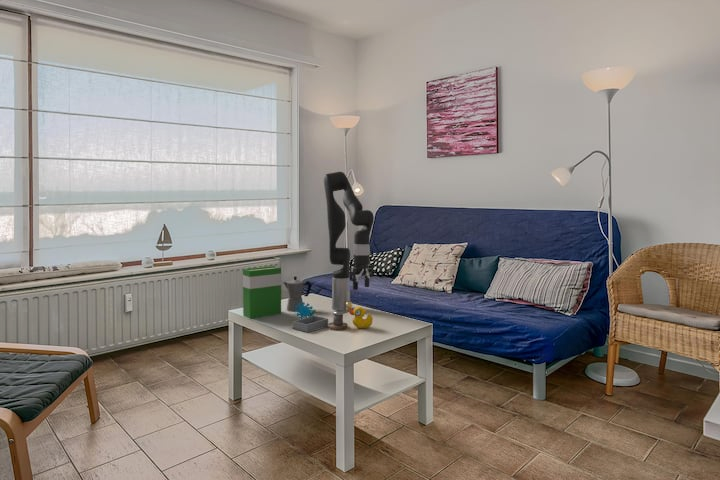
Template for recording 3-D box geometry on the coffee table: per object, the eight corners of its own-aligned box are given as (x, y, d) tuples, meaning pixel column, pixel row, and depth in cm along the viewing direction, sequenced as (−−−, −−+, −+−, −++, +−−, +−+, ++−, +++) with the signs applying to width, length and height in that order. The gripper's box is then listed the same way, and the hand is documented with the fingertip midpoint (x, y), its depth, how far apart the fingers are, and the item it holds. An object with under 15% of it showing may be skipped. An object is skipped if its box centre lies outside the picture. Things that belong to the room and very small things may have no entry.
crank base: (337, 323, 231) (337, 311, 230) (351, 327, 225) (351, 314, 225) (324, 327, 224) (324, 315, 223) (339, 331, 218) (339, 318, 218)
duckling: (347, 329, 222) (347, 307, 221) (349, 325, 228) (349, 305, 227) (371, 330, 221) (372, 308, 220) (373, 326, 226) (373, 306, 225)
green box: (274, 310, 255) (273, 265, 253) (281, 313, 249) (281, 267, 247) (243, 315, 244) (242, 269, 241) (250, 318, 238) (249, 270, 236)
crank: (338, 316, 221) (338, 307, 220) (331, 314, 224) (331, 305, 223) (354, 311, 230) (354, 302, 230) (347, 310, 233) (347, 301, 232)
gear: (296, 318, 234) (294, 300, 240) (293, 324, 238) (291, 307, 244) (318, 319, 238) (315, 302, 245) (314, 325, 242) (311, 308, 249)
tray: (313, 322, 233) (313, 315, 232) (328, 325, 227) (328, 318, 227) (292, 328, 222) (292, 321, 221) (307, 332, 216) (307, 324, 216)
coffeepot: (281, 311, 253) (281, 277, 252) (284, 307, 263) (284, 274, 261) (310, 312, 253) (310, 278, 251) (312, 307, 262) (312, 275, 260)
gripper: (364, 251, 229) (364, 285, 230) (345, 254, 218) (345, 289, 219) (377, 253, 224) (376, 287, 226) (358, 255, 213) (358, 291, 215)
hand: (361, 288), depth 223 cm, fingers open, 8 cm apart
